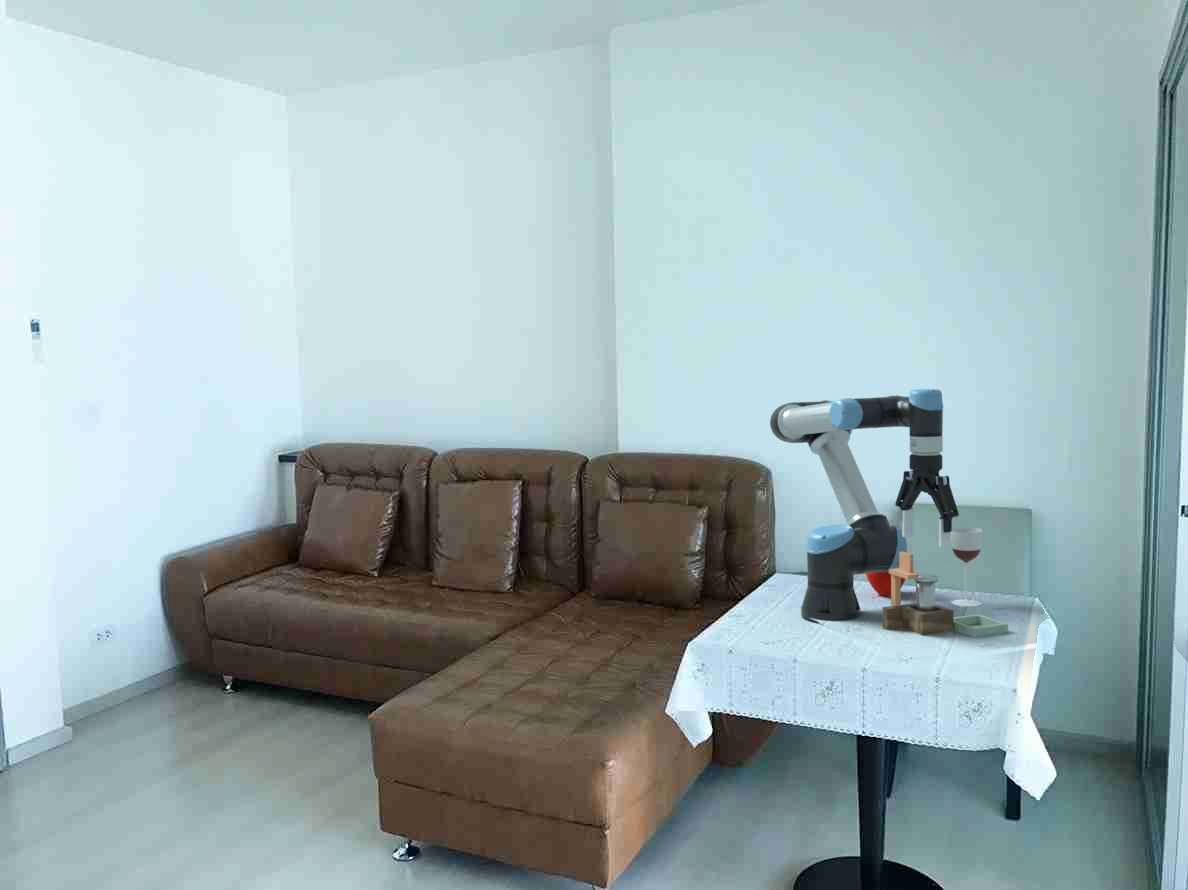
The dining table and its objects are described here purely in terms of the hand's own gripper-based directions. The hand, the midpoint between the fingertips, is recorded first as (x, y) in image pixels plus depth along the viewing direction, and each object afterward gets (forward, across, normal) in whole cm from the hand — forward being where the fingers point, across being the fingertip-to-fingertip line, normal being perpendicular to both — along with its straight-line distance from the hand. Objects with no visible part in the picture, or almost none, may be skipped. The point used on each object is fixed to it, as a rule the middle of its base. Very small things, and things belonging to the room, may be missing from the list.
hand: (925, 541), depth 236 cm
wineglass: (+23, -18, +28) cm, 40 cm away
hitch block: (+23, 0, -2) cm, 23 cm away
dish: (+23, +6, +10) cm, 25 cm away
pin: (+22, 0, 0) cm, 22 cm away
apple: (+23, -35, +14) cm, 44 cm away
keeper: (+16, -1, -6) cm, 17 cm away
